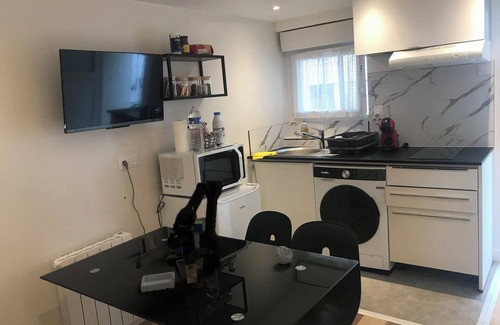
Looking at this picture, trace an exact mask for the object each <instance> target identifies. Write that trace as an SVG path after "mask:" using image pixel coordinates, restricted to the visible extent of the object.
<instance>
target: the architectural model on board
mask: <svg viewBox="0 0 500 325" xmlns="http://www.w3.org/2000/svg"><path fill="white" fill-rule="evenodd" d="M137 244H138V252H139V253H138V254H144V252H145V253H147V252H149V251H151V250H153V249H155V248H158V247H159V244H158V234H157V233H156V232H151V233H149V234H148V235H145V234H143V235H141V236H139V237H138V238H137Z"/></svg>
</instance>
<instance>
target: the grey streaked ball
mask: <svg viewBox="0 0 500 325" xmlns="http://www.w3.org/2000/svg"><path fill="white" fill-rule="evenodd" d="M293 255H294V254H293V252H292V250H291V249H290V248H288V247H286V246H282V245H280V246H279V247H277V248H276V249H275V252H274V257H275V259H276V261H277V262H278V264H282V265H287V264H290V263H291V261H292V260H293Z"/></svg>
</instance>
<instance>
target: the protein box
mask: <svg viewBox="0 0 500 325" xmlns="http://www.w3.org/2000/svg"><path fill="white" fill-rule="evenodd" d="M173 226H174V223H173V224H172V227H173ZM194 226H196V228H195V229H194V237H195V246H196V251H199V252H200V254H202V252H201V249H200V246H199V239H200V234H202V233H203V232H204V230H205V217H197V218H196V221H195V223H194ZM178 227H186V226H178ZM172 232H174V231H173V230H172ZM174 251H175V254H181V255H182V246H181V247H179V248H177V249H175V250H174Z"/></svg>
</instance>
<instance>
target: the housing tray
mask: <svg viewBox="0 0 500 325" xmlns="http://www.w3.org/2000/svg"><path fill="white" fill-rule="evenodd" d="M175 279H176V275H175V271H171V272H162V273H155V274H148V275H143V276H142V280H141V284H140V290H141V292H140V293H146V292H147V291H148V292H153V291H154V290H155V291H161V289H162V290H167V289H166V288H169V289H175V285H176V284H175V282H176V280H175ZM148 292H147V293H148Z"/></svg>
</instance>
